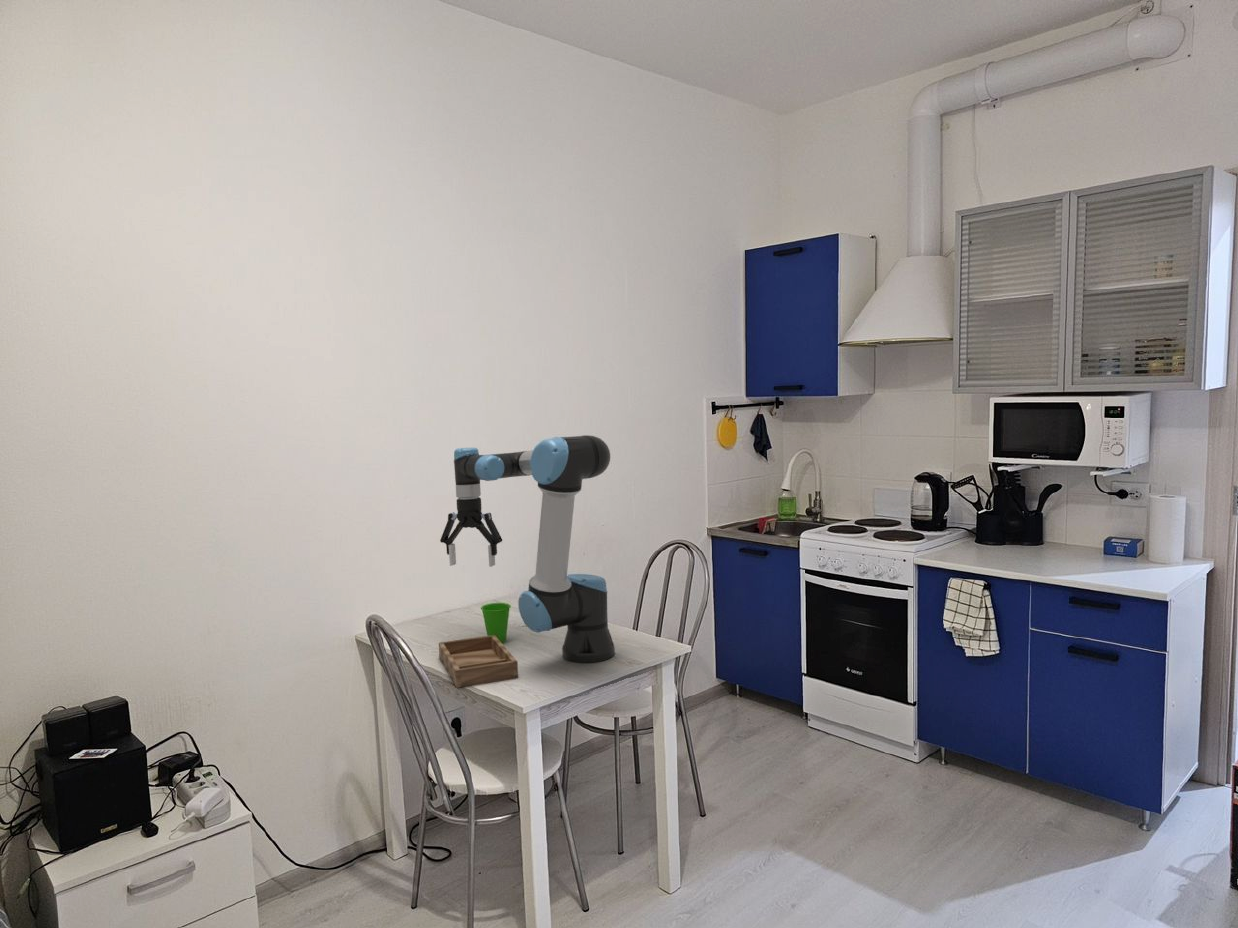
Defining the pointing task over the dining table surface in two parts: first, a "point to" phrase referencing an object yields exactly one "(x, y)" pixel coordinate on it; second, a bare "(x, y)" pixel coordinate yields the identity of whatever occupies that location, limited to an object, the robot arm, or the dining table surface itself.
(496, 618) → the cup
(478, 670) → the crate
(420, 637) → the dining table surface
